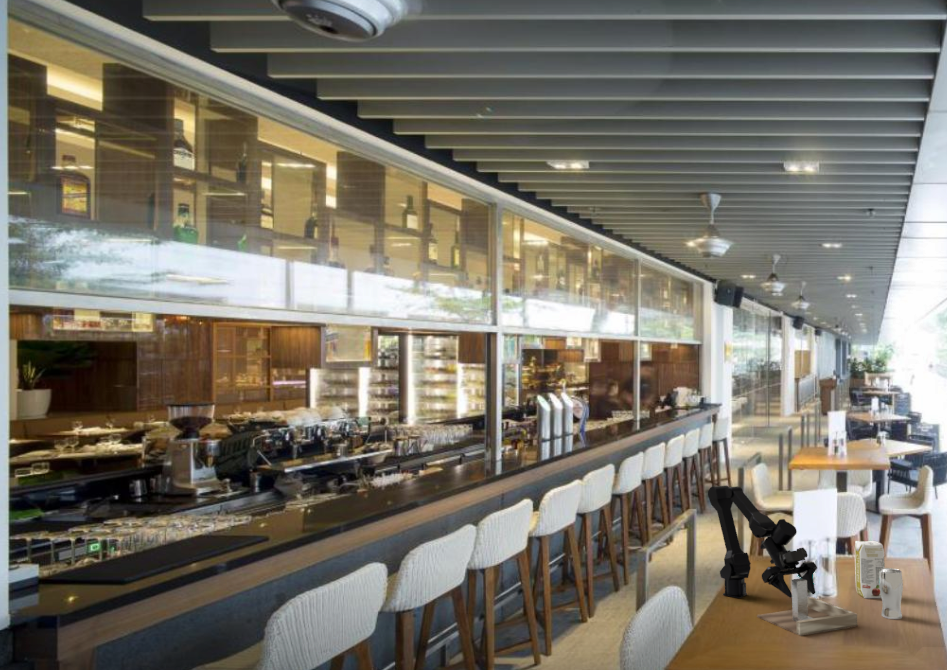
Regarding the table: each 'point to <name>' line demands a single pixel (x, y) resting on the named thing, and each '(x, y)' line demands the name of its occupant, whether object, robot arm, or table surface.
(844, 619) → the corner board
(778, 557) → the robot arm
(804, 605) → the aluminium bracket
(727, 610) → the table surface
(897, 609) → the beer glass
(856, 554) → the juice carton
